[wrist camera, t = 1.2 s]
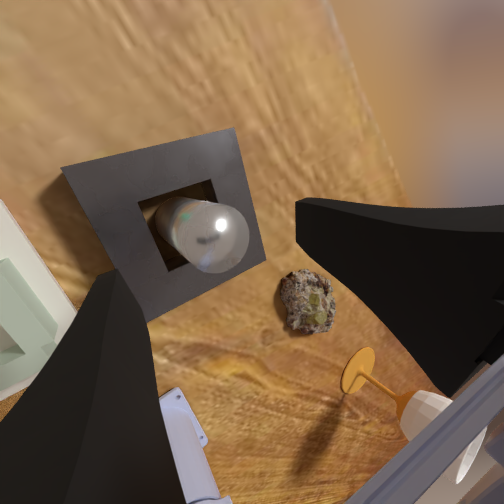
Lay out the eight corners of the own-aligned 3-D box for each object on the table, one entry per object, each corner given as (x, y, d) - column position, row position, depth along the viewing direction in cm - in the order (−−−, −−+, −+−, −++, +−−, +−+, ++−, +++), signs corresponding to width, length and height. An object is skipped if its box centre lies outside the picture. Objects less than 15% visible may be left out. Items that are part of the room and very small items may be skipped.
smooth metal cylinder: (209, 233, 22) (255, 256, 15) (166, 251, 20) (198, 285, 14) (194, 190, 20) (239, 194, 14) (146, 206, 19) (172, 219, 12)
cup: (354, 345, 40) (478, 425, 27) (379, 348, 45) (494, 416, 32) (333, 394, 41) (446, 496, 27) (361, 391, 46) (467, 476, 33)
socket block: (252, 253, 25) (266, 259, 23) (140, 309, 20) (145, 323, 18) (220, 132, 20) (234, 127, 18) (65, 169, 16) (60, 167, 14)
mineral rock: (352, 298, 33) (332, 354, 30) (324, 294, 36) (303, 344, 33) (317, 248, 27) (288, 309, 24) (288, 248, 31) (258, 302, 27)
